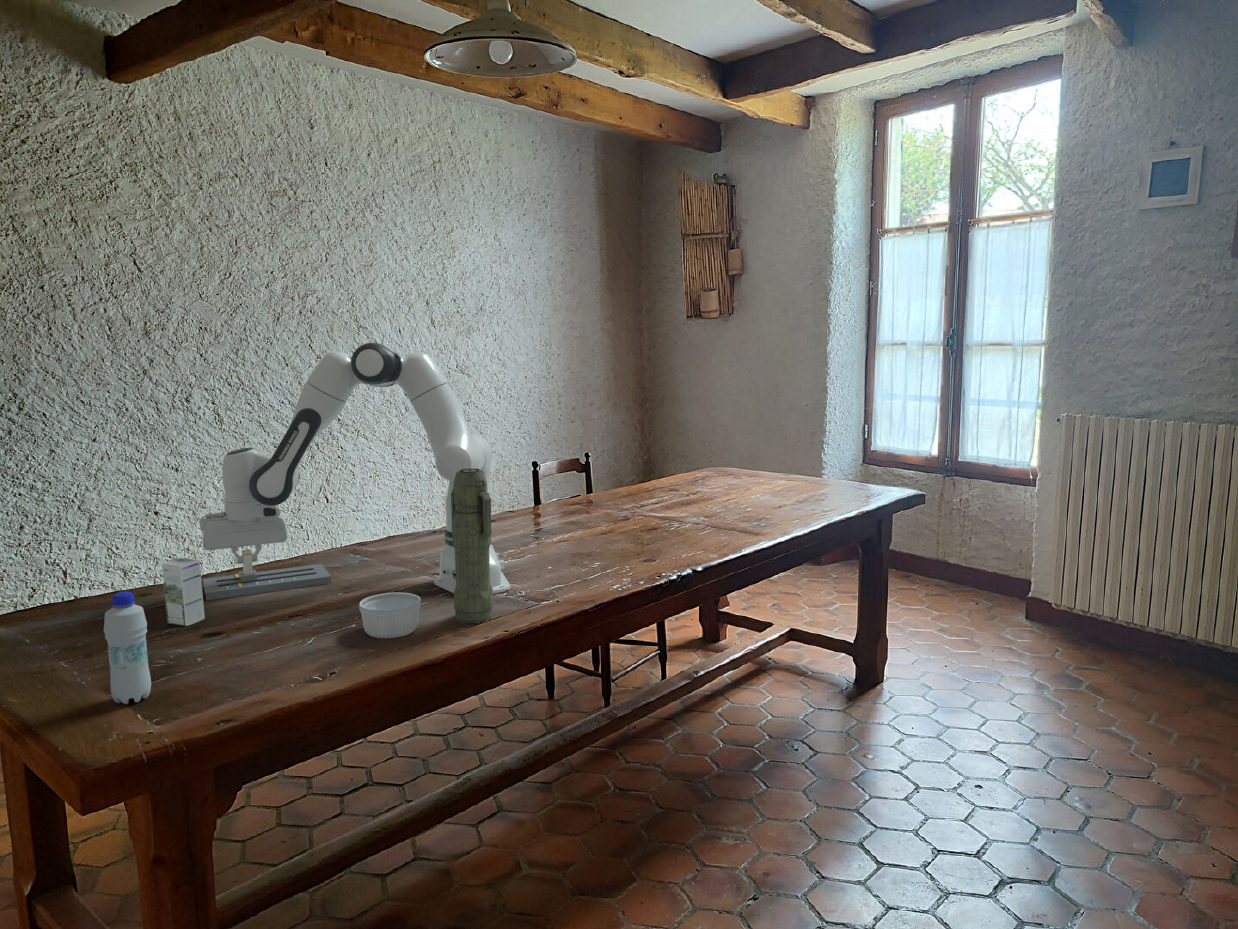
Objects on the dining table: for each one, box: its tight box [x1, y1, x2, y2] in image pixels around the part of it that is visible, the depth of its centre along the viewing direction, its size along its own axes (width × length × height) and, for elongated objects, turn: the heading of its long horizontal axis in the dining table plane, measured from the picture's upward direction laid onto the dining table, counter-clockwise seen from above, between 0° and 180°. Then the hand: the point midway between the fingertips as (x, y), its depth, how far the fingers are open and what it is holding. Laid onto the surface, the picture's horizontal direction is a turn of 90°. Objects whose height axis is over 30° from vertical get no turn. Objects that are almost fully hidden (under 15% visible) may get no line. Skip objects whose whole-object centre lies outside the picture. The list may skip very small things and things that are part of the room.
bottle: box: [103, 591, 152, 705], centre depth 148 cm, size 7×7×20 cm
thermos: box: [451, 468, 494, 624], centre depth 191 cm, size 9×12×35 cm
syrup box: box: [161, 557, 206, 627], centre depth 190 cm, size 6×6×14 cm
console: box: [202, 563, 332, 601], centre depth 219 cm, size 14×30×2 cm, turn 119°
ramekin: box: [358, 592, 422, 639], centre depth 185 cm, size 13×13×7 cm
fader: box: [238, 548, 258, 582], centre depth 216 cm, size 5×4×8 cm
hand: (247, 562), depth 216 cm, fingers closed on fader, 2 cm apart
